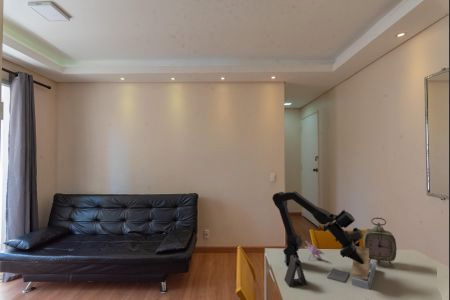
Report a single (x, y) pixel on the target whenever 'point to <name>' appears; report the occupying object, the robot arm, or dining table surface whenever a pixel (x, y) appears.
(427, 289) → the dining table surface
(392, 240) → the tabletop clock
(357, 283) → the shelf
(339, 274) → the rubber mat
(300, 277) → the phone stand
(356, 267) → the oak block
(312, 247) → the lily
